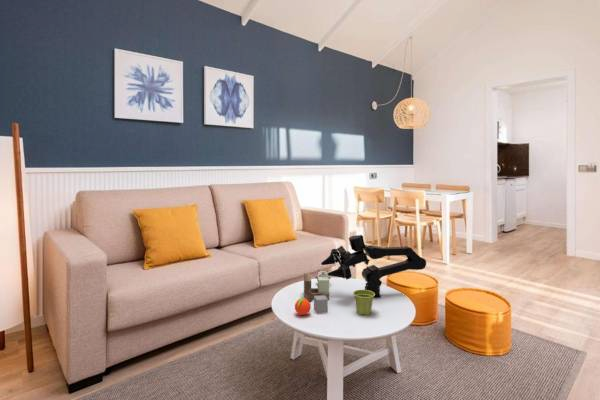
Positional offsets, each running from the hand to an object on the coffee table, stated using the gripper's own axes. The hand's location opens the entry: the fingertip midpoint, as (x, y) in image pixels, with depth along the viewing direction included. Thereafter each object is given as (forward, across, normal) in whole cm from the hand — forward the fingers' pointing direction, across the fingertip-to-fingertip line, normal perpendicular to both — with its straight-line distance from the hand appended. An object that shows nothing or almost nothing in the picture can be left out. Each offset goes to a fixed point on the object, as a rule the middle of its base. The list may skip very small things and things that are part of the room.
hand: (324, 269), depth 173 cm
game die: (0, -14, +21) cm, 25 cm away
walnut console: (+7, +1, +13) cm, 15 cm away
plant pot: (-8, +23, +12) cm, 27 cm away
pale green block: (+4, +2, +14) cm, 15 cm away
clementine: (+18, +19, +5) cm, 26 cm away
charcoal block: (+9, +17, +8) cm, 21 cm away
